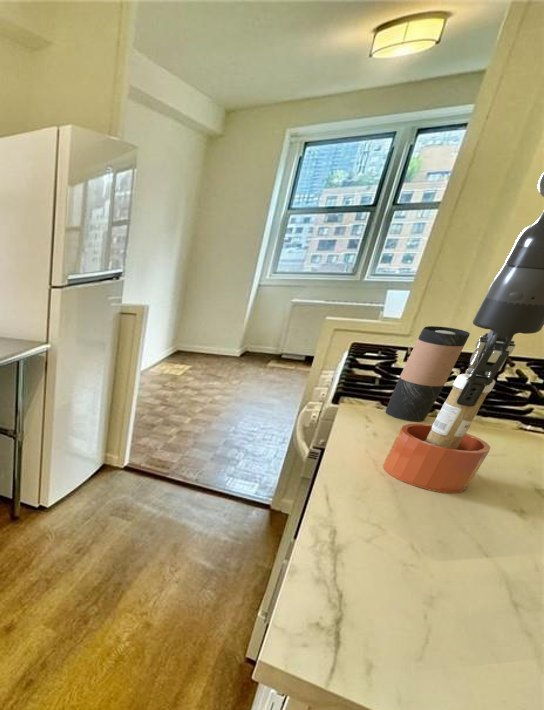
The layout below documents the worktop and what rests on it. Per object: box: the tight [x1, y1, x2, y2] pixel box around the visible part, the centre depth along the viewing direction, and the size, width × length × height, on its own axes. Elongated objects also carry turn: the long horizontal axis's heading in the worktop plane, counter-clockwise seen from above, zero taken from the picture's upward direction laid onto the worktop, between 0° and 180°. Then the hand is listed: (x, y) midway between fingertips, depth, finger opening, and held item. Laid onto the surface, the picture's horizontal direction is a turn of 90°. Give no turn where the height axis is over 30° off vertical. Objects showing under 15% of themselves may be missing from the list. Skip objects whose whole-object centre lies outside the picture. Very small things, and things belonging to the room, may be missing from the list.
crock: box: [382, 423, 491, 494], centre depth 87 cm, size 12×12×8 cm
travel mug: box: [385, 325, 471, 422], centre depth 108 cm, size 8×8×20 cm
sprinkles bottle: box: [424, 373, 496, 450], centre depth 83 cm, size 5×5×14 cm
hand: (465, 400), depth 82 cm, fingers closed on sprinkles bottle, 4 cm apart
